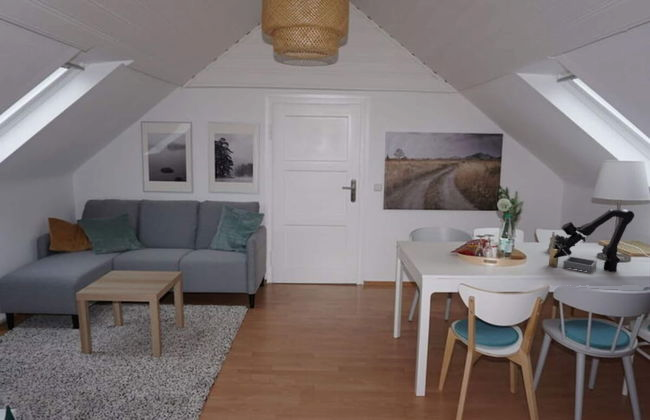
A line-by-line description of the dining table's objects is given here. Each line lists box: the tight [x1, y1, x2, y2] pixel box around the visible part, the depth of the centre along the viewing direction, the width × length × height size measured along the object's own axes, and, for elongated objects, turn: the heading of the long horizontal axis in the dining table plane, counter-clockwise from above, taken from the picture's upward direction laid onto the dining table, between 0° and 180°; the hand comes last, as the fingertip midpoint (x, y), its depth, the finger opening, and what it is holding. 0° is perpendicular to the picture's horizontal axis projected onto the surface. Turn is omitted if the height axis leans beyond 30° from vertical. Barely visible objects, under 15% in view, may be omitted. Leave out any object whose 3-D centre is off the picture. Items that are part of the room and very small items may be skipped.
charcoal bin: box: [562, 255, 598, 273], centre depth 297 cm, size 16×16×4 cm
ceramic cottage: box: [546, 231, 556, 254], centre depth 334 cm, size 16×16×15 cm
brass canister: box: [548, 248, 559, 268], centre depth 299 cm, size 5×5×11 cm
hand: (551, 255), depth 299 cm, fingers open, 9 cm apart
